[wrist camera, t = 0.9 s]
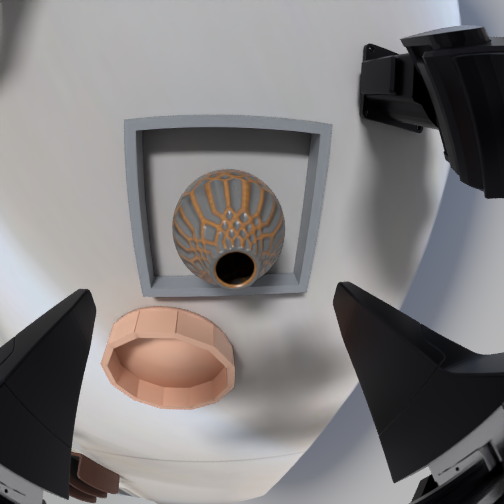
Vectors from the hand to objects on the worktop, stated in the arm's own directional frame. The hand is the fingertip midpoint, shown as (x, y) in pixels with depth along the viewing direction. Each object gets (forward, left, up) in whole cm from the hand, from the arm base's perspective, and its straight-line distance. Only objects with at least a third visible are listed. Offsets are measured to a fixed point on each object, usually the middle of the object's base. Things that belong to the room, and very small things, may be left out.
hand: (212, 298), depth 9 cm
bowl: (+5, +17, -12) cm, 21 cm away
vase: (-1, +1, -12) cm, 12 cm away
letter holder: (+41, +75, -12) cm, 86 cm away
